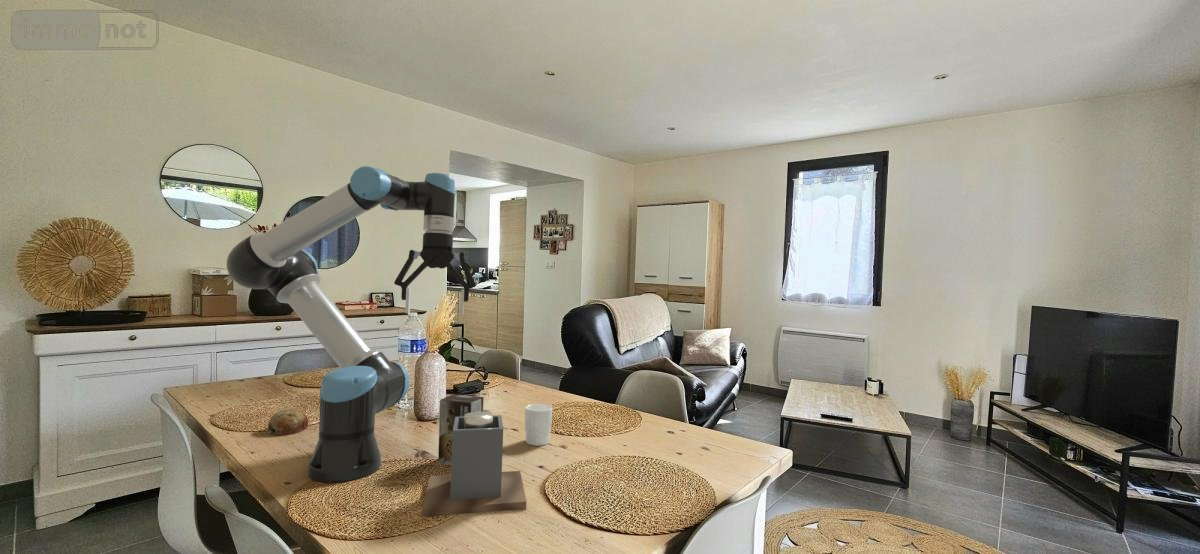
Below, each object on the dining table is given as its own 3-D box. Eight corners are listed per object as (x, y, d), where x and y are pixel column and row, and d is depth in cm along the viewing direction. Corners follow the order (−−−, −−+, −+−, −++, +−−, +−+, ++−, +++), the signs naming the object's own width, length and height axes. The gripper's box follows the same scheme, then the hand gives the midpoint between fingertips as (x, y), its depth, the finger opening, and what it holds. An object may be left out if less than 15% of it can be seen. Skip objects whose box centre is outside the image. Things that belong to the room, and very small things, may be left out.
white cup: (549, 447, 133) (550, 411, 133) (521, 446, 133) (522, 410, 133) (552, 438, 141) (554, 404, 141) (526, 437, 141) (527, 403, 141)
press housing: (450, 500, 95) (452, 430, 96) (452, 480, 105) (455, 416, 105) (500, 496, 98) (503, 428, 98) (498, 477, 108) (501, 415, 108)
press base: (421, 517, 91) (421, 509, 91) (429, 482, 107) (430, 476, 107) (526, 509, 96) (526, 501, 96) (519, 477, 112) (520, 470, 112)
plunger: (456, 495, 97) (459, 421, 97) (458, 480, 104) (460, 411, 105) (494, 493, 99) (497, 419, 99) (493, 478, 106) (496, 410, 106)
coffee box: (482, 459, 122) (485, 396, 122) (469, 468, 116) (471, 402, 116) (451, 455, 124) (453, 393, 125) (436, 463, 118) (439, 398, 118)
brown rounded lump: (264, 443, 138) (254, 421, 135) (294, 419, 147) (284, 398, 144) (290, 448, 135) (280, 425, 132) (319, 423, 144) (310, 402, 141)
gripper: (384, 228, 119) (381, 313, 119) (486, 234, 125) (483, 315, 125) (390, 231, 126) (386, 311, 126) (486, 237, 132) (483, 313, 132)
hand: (435, 313), depth 125 cm, fingers open, 13 cm apart
